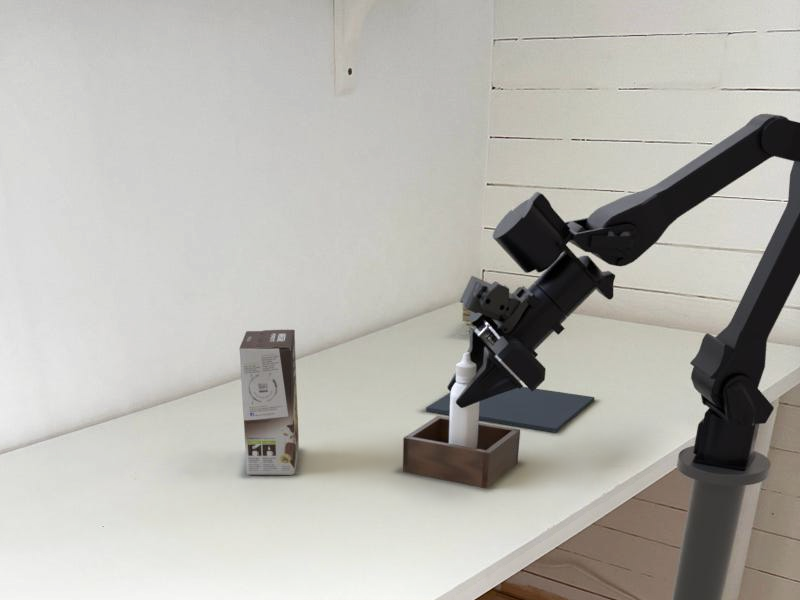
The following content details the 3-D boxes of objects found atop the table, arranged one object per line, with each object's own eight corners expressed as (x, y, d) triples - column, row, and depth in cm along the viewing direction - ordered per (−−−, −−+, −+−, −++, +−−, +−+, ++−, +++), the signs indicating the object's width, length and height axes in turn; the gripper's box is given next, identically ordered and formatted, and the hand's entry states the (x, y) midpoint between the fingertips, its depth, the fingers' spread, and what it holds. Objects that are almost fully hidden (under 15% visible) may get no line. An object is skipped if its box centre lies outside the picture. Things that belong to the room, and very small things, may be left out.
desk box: (517, 463, 127) (520, 429, 124) (487, 488, 120) (489, 453, 117) (436, 448, 132) (437, 415, 130) (402, 471, 125) (403, 437, 123)
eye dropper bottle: (434, 450, 125) (437, 354, 118) (464, 438, 128) (468, 345, 121) (461, 458, 122) (464, 361, 115) (490, 446, 125) (496, 351, 119)
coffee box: (296, 475, 125) (291, 347, 117) (245, 475, 125) (237, 347, 117) (300, 450, 133) (296, 327, 124) (252, 450, 133) (245, 328, 125)
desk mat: (594, 400, 148) (594, 396, 147) (555, 432, 136) (556, 428, 136) (471, 382, 157) (471, 379, 157) (425, 411, 145) (425, 407, 145)
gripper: (488, 237, 121) (398, 334, 126) (524, 267, 105) (419, 376, 110) (546, 301, 125) (457, 391, 130) (590, 338, 109) (486, 439, 114)
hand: (453, 397), depth 121 cm, fingers closed on eye dropper bottle, 5 cm apart
